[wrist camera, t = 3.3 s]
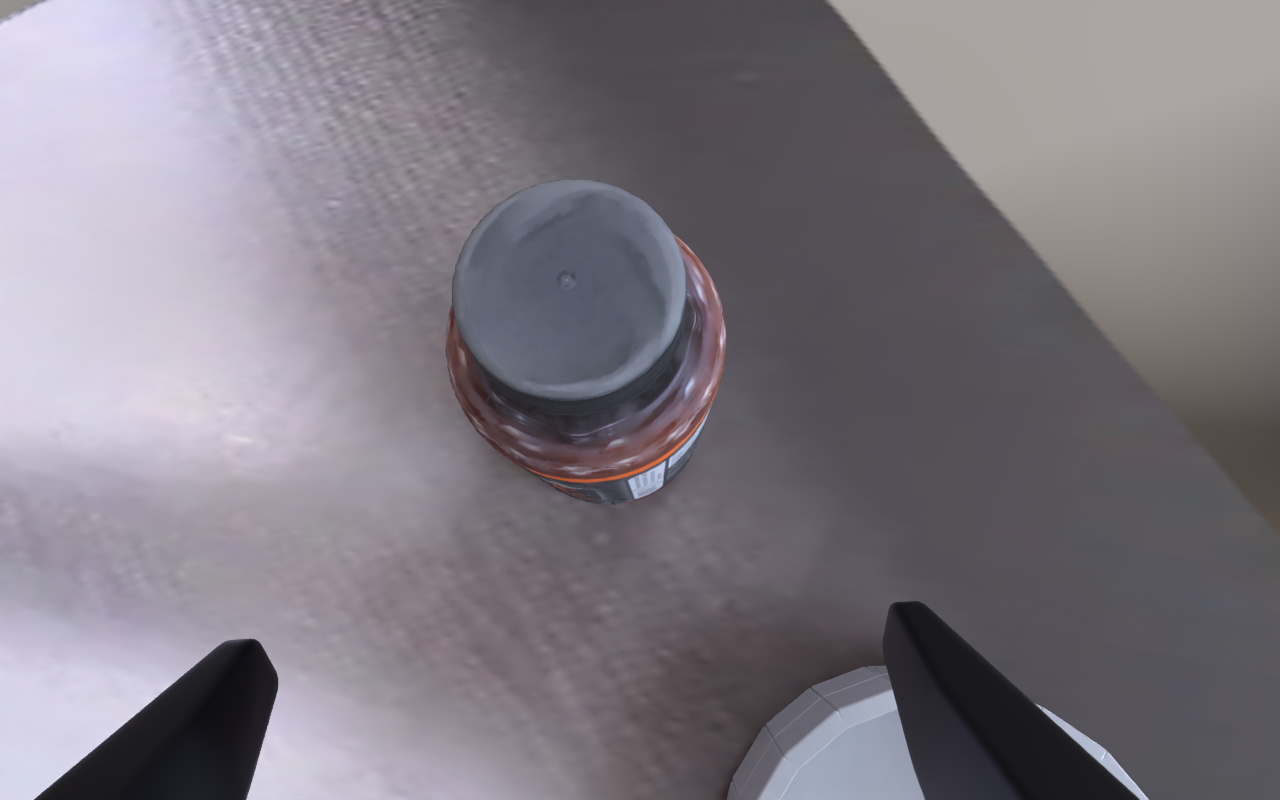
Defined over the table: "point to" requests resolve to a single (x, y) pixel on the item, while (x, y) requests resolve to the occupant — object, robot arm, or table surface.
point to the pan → (850, 746)
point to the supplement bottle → (585, 339)
